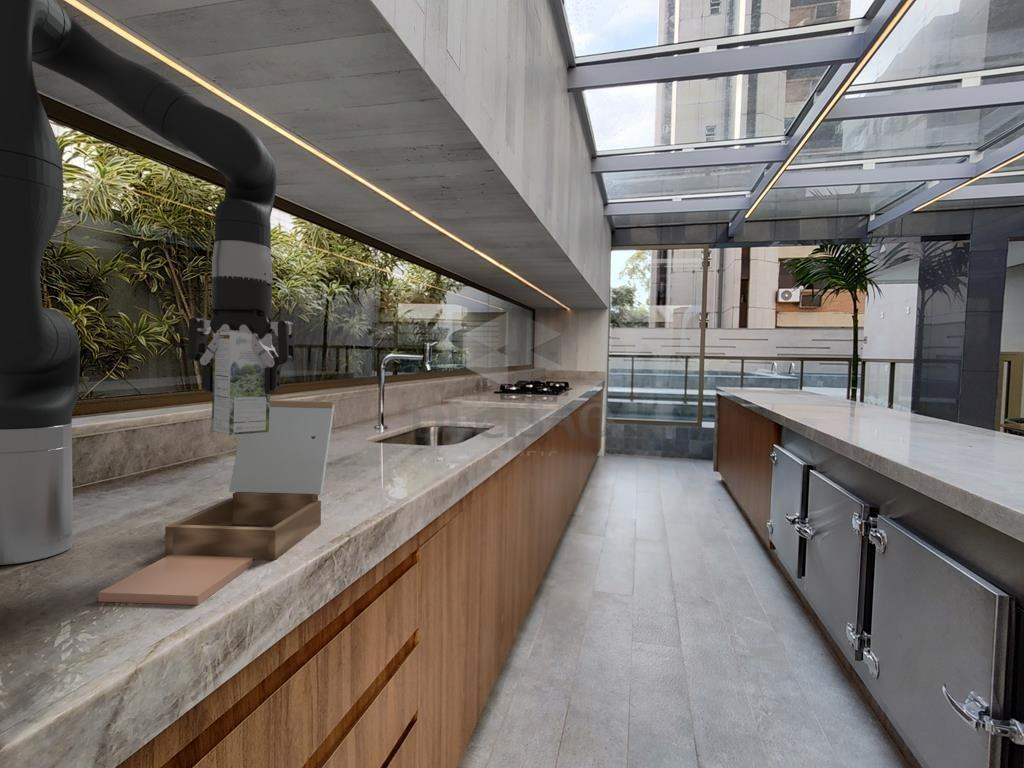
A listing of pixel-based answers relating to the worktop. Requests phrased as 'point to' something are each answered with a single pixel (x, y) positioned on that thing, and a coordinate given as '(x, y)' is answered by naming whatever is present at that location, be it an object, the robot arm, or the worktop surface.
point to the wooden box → (219, 539)
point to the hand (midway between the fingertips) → (241, 392)
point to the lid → (286, 450)
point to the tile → (177, 580)
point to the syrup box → (239, 385)
